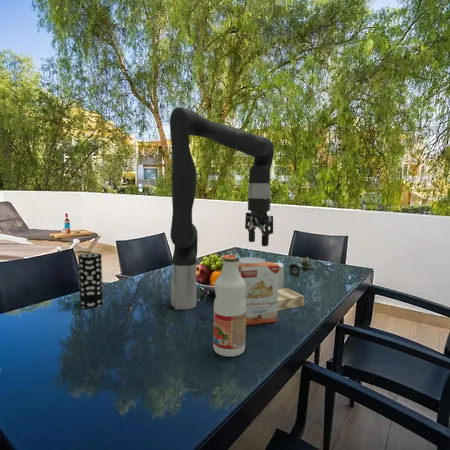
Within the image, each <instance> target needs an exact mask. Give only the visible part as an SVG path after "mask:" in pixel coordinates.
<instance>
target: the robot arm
mask: <svg viewBox="0 0 450 450" xmlns="http://www.w3.org/2000/svg"><path fill="white" fill-rule="evenodd" d="M169 131H170V142H171V144H170V145H171V201H172V202H171V203H172V204H171V205H172V215H171V218H172V219H171V226H170V239H171V242H172V244H173V245H174V249H173V255H172V258H171V259H172V281H171V282H170V305H171V306H172V308H173V309H174V310H184V311H185V310H191V309H193V308H196V307H197V255H198V243H199V242H198V230H197V226H196V225H195V224H193V207H194V202H195V198H196V192H197V168H196V165H195V161H194V159H193V156H192V153H191V149H190V136H193V137H201V138H206V139H209V140H211V141H213V142H215V143H217V144H219V145H221V146H223V147H226V148H229V149H232V150H235V151H237V152H238V151H239V152H241V153H242V154H245V155H247V156H250V157H252V158H254V159H253V165H252V166H250V168H249V175H248V189H247V192H248V193H247V210H248V211H249V212H245V220H244V221H245V223H244V229H245V230H247V231H248V243H254V242H256V229H257V228H258V229H259V231H260V232H261V247H268V246H269V240H270V239H269V237H270V235H273V234H274V216H273V215H268V212H269V211H270V210H271V169H272V165H273V159H274V153H275V150H274V149H275V148H274V144H273V141H272V140H271V139H270V138H269V137H266V136H262V135H259V134H254V133H252V132H247V131H245V130H243V129H241V128H238V127H235V126H232V125H231V126H230V125H228V124H223V123H218V122H215V121H212V120H210V119H209V118H205V117H204V116H203V115H201V114H199V113H197V112H196V111H194V110H193V109H189V108H185V107H181V106H177V107H176V108H174V109H173V110H172V112H171V114H170V116H169Z"/></svg>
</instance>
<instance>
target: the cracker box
mask: <svg viewBox="0 0 450 450" xmlns="http://www.w3.org/2000/svg"><path fill="white" fill-rule="evenodd" d="M275 263H276V262H273V261H266V262H261V263H239V264H238V269H239V273H240V275H241V277H242V278H243V279H244V281H245V283H246V291H245V294H244V299H245V301H246V326H250V325H252V326H253V325H261V324H271V323H277V321H278V311H277V307H278V287H279V265H277V264H275Z"/></svg>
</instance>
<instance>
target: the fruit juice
mask: <svg viewBox="0 0 450 450" xmlns="http://www.w3.org/2000/svg"><path fill="white" fill-rule="evenodd" d="M239 259H240V256H239V255H236V254H224V255H222V257H221V262H222V268H221V269H222V270H221V272H220V274H219V276H218V277H217V278H216V280H215V282H214V287H213V289H214V292H215V298H214V300H213V326H212V327H213V332H212V333H213V335H212V336H213V339H212V341H213V343H212V344H213V351H214V352H215V353H216V354H218V355H219V356H222V357H237V356H241V354H243V353H244V352H245V349H246V333H247V332H246V329H247V327H246V326H247V325H246V301H245V299H244V294H245V291H246V283H245V281H244V279H243V278H242V277H241V275H240V273H239V269H238V263H239Z"/></svg>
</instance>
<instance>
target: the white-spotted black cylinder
mask: <svg viewBox="0 0 450 450" xmlns="http://www.w3.org/2000/svg"><path fill="white" fill-rule="evenodd" d="M77 259H78V278H79V279H78V280H79V281H78V282H79V302H80V303H79V305H80V308H81V309H85V310H86V309H87V310H88V309H90V308H92V309H96V307H97V308H99V306H100V307H102V306H103V305H104V299H103V297H104V295H103V269H102V268H103V267H102V266H103V265H102V253H98V252H97V253H96V252H91V253H90V252H89V253H88V252H87V253H81V254H80V255H79V254H78V257H77ZM102 304H103V305H102ZM101 305H102V306H101ZM90 310H91V309H90Z"/></svg>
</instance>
